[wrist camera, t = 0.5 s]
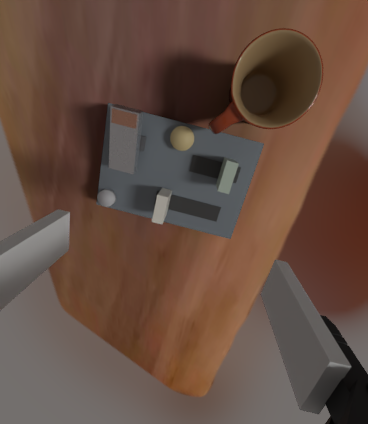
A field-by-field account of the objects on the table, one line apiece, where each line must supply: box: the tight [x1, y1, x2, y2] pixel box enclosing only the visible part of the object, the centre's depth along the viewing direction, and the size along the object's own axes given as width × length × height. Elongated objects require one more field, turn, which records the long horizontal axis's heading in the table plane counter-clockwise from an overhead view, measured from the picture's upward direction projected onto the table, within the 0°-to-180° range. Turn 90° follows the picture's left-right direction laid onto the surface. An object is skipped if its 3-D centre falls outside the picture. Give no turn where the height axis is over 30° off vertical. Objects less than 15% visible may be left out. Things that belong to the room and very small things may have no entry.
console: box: [97, 103, 264, 239], centre depth 34 cm, size 15×22×4 cm
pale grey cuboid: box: [152, 188, 172, 224], centre depth 33 cm, size 4×2×4 cm, turn 166°
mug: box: [209, 28, 323, 134], centre depth 28 cm, size 12×9×10 cm
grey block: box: [216, 157, 239, 194], centre depth 31 cm, size 4×2×4 cm, turn 166°
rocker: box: [109, 104, 143, 174], centre depth 30 cm, size 8×4×2 cm, turn 166°
